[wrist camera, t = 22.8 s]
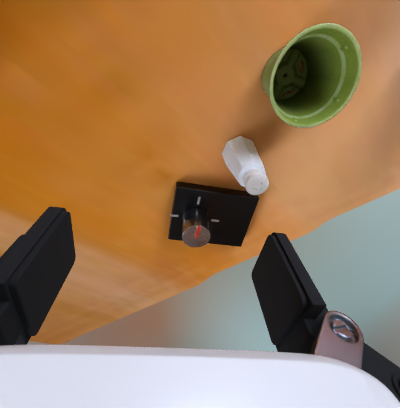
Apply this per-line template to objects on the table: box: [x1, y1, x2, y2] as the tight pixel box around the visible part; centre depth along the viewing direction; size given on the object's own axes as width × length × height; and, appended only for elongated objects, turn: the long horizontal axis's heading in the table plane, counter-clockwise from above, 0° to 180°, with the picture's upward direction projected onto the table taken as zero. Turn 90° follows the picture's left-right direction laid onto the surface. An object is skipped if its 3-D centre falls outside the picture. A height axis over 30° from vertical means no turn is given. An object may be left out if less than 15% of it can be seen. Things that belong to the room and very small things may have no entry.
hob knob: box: [182, 208, 210, 247], centre depth 38 cm, size 4×4×5 cm
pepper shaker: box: [222, 136, 269, 195], centre depth 32 cm, size 5×5×11 cm
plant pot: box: [262, 23, 362, 128], centre depth 27 cm, size 9×9×9 cm
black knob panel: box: [168, 182, 259, 247], centre depth 42 cm, size 14×11×2 cm
